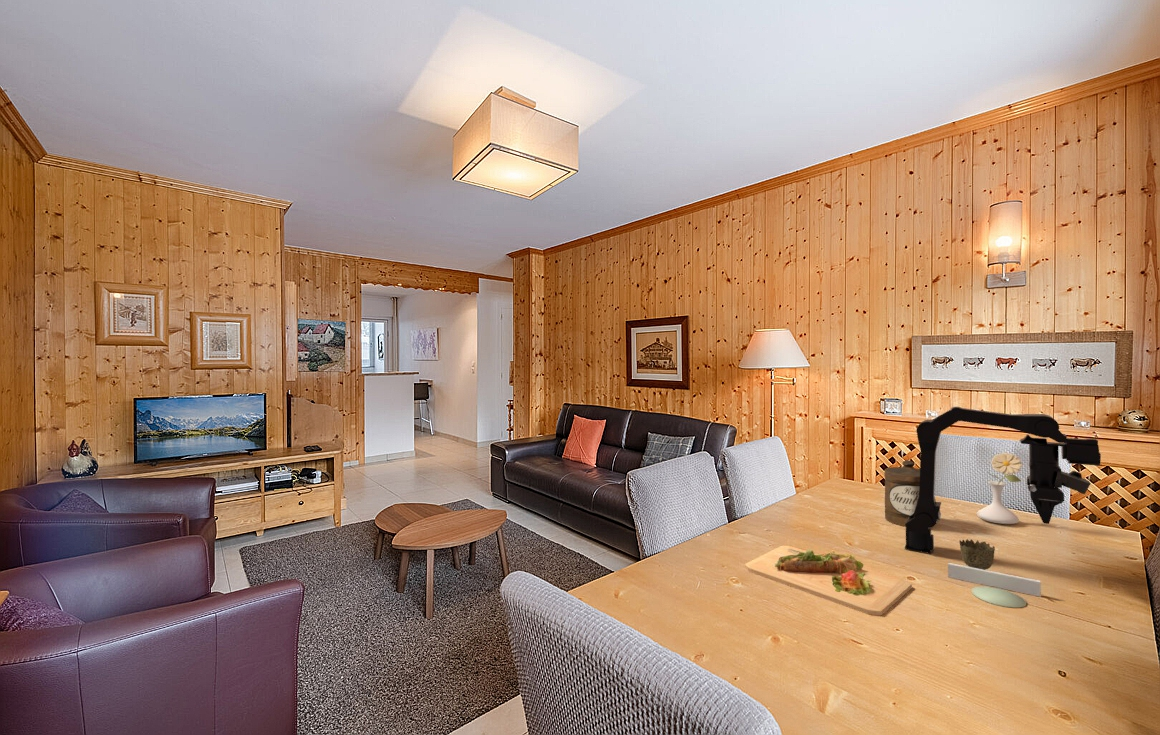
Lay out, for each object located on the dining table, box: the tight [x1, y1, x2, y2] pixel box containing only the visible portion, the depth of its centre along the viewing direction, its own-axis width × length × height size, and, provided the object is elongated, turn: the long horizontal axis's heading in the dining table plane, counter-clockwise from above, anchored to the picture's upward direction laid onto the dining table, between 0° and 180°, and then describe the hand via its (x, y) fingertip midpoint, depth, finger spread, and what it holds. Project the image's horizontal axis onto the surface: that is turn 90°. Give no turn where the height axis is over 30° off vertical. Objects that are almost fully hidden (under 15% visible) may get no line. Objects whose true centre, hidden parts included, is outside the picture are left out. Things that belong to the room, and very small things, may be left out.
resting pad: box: [971, 586, 1027, 609], centre depth 117 cm, size 10×10×1 cm
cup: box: [959, 539, 996, 570], centre depth 131 cm, size 8×7×8 cm
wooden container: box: [884, 459, 920, 528], centre depth 173 cm, size 15×15×22 cm
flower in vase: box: [976, 452, 1023, 525], centre depth 170 cm, size 13×11×25 cm
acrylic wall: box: [947, 562, 1042, 598], centre depth 123 cm, size 18×1×4 cm, turn 50°
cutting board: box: [744, 545, 913, 616], centre depth 130 cm, size 35×23×8 cm
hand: (1044, 518), depth 130 cm, fingers open, 9 cm apart
